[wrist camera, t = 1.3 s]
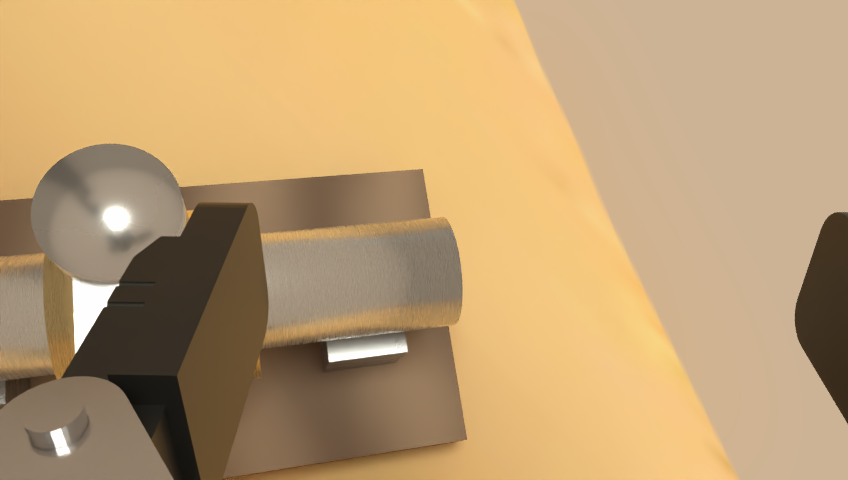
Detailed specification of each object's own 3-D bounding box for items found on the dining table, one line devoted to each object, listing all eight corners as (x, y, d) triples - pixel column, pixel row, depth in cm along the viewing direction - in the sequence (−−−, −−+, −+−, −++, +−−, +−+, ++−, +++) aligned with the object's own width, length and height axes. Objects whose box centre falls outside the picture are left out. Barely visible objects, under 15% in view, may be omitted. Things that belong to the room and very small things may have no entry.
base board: (414, 185, 37) (422, 169, 35) (455, 441, 34) (466, 439, 32) (-104, 225, 32) (-127, 210, 30) (-112, 531, 29) (-139, 535, 27)
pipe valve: (411, 234, 34) (484, 109, 22) (432, 370, 32) (522, 310, 21) (-100, 282, 29) (-336, 156, 18) (-104, 442, 28) (-366, 418, 16)
